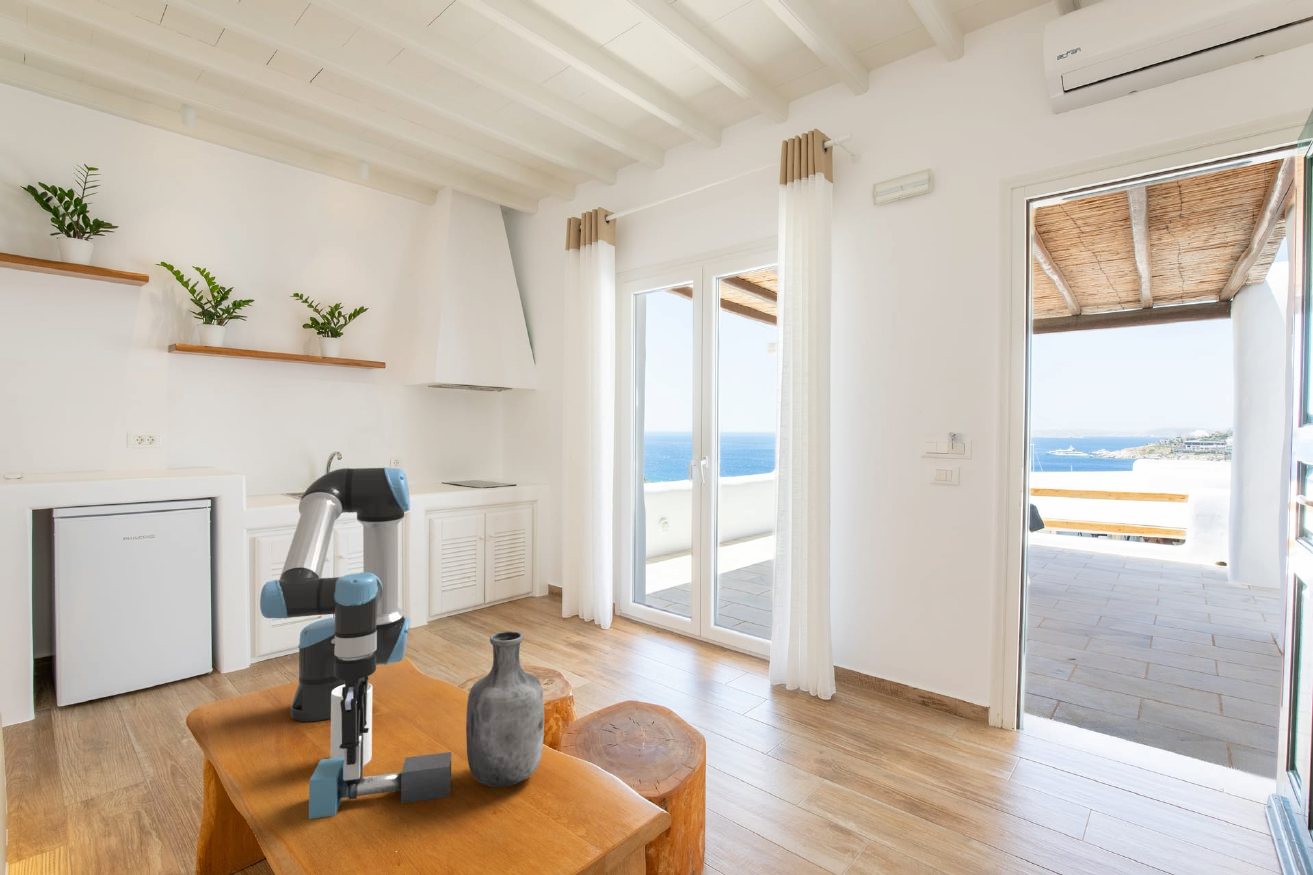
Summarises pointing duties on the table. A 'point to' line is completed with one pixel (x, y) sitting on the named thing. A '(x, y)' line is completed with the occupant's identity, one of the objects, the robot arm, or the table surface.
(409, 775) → the block
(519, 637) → the vase
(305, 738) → the table surface
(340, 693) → the cup
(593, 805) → the table surface
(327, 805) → the socket
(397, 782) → the handle
